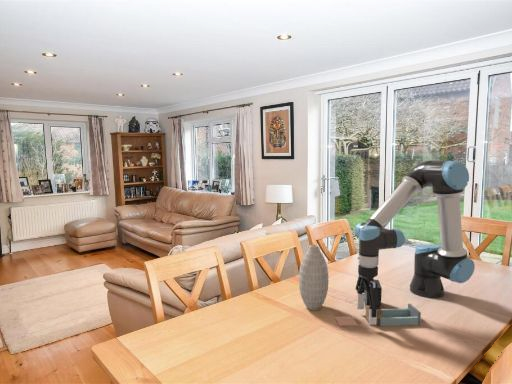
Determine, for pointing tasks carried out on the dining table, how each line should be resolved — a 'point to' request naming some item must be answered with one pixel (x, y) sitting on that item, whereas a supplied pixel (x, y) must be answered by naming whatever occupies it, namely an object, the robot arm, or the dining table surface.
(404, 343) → the dining table surface
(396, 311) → the channel
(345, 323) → the tile
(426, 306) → the dining table surface
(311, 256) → the vase
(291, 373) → the dining table surface
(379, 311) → the block
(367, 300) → the small box
